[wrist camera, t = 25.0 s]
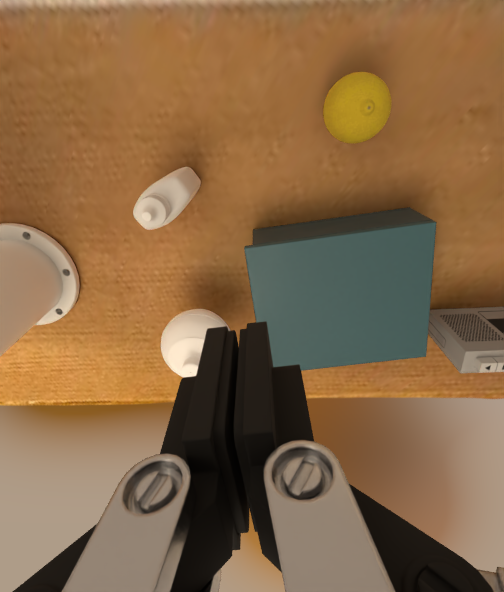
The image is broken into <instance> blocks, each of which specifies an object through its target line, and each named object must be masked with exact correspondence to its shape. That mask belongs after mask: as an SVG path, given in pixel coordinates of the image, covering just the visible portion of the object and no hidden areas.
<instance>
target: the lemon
mask: <svg viewBox="0 0 504 592" xmlns="http://www.w3.org/2000/svg"><path fill="white" fill-rule="evenodd" d="M390 110H391V96H390V92H389V89H388V87H387V86H386V84H385V83H384V82H383V81H382V80H381V79H380V78H379V77H378V76H376V75H374V74H372V73H367V72H355V73H351V74H349V75H346V76H344V77H343V78H341V79H340V80H339V81H337V82H336V83H335V84H334V86H333V87H332V88H331V89H330V91H329V93H328V94H327V96H326V99H325V103H324V106H323V117H324V122H325V125H326V127H327V129H328V131H329V132H330V133H331V134H332V136H333V137H335V138H336V139H338V140H339V141H342V142H345V143H360V142H364V141H366V140H368V139H370V138H372V137H374V136H375V135H376V134H377V133H378V132H379V131H380V130H381V129H382V128H383V126H384V125H385V124H386V122H387V119H388V117H389V115H390Z"/></svg>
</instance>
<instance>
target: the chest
mask: <svg viewBox="0 0 504 592" xmlns="http://www.w3.org/2000/svg"><path fill="white" fill-rule="evenodd" d="M430 220H431V219H430V218H428V217H426V216H424V215H422V214H421V213H419V212H417V211H415V210H413V209H411V208H410V207H409V208H402V209H394V210H387V211H380V212H373V213H366V214H359V215H352V216H345V217H338V218H331V219H324V220H317V221H310V222H303V223H296V224H289V225H281V226H274V227H267V228H260V229H253V245H257V244H264V243H271V242H278V241H286V240H293V239H300V238H307V237H315V236H322V235H329V234H336V233H344V232H351V231H358V230H365V229H372V228H380V227H387V226H394V225H401V224H409V223H416V222H423V221H430Z"/></svg>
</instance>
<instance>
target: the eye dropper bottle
mask: <svg viewBox="0 0 504 592" xmlns="http://www.w3.org/2000/svg"><path fill="white" fill-rule="evenodd" d="M200 185H201V181H200V179H199V177H198V176H197V175H196V173H195V172H194V171H193V170H192V169H191V168H190V167H183V168H180V169H177V170H175V171H173V172H171V173H170V174H168V175H166V176H165V177H163V178H162V179H160V180H158V181H157V182H155V183H154V184H152V185H151V186H150V187H148V188H147V189H146V190H145V191H144V192H143V193H142V195H141V196H140V197H139V199H138V201H137V202H136V205H135V207H134V210H133V215H134V217H135V219H136V220H137V221H138V222H139V223H140V224H141V225H142V226H143V227H144V228H145V229H148V230H152V229H156V228H159V227H162V226H164V225H166V224H168V223H170V222H171V221H172V220H174V219H175V218H176V217H177V216H178V215H179V214H180V213H181V212H182V211H183V210H184V208H185V207H186V206H187V205H188V203H189V202H190V201H191V200H192V199H193V197H194V196H195V195H196V193H197V191H198V190H199V188H200Z"/></svg>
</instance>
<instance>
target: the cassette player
mask: <svg viewBox="0 0 504 592" xmlns="http://www.w3.org/2000/svg"><path fill="white" fill-rule="evenodd" d="M428 334H429V335H430V337H431V338H432V339H433V340H434V341H435V343H436V344H437V345H438V346H439V348H440V349H441V350H442V351H443V352H444V354H445V355H446V356H447V357H448V359H449V360H450V361H451V362H452V363H453V365H454V366H455V367H456V368H457V370H458V371H459V372H460V373H478V372H479V373H483V372H504V307H483V308H459V309H434V310H430V311H429V324H428Z"/></svg>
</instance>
